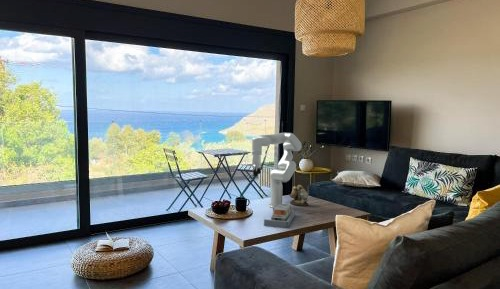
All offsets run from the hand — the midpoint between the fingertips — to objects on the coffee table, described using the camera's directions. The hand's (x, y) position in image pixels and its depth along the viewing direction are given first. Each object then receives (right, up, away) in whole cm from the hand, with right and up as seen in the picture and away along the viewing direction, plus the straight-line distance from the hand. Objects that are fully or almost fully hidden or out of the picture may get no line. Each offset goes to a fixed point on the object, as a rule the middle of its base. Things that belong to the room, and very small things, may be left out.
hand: (256, 174), depth 290 cm
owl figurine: (+37, -28, +29) cm, 55 cm away
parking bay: (+17, -32, -16) cm, 40 cm away
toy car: (+18, -33, -17) cm, 41 cm away
